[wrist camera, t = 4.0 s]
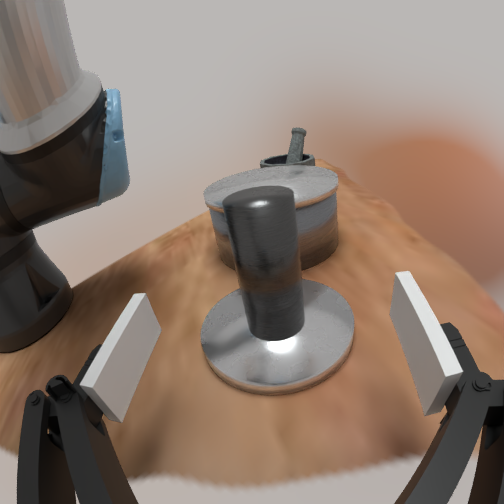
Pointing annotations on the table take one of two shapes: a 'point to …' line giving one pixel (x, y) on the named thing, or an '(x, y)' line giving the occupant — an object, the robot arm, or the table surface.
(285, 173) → the cooker pot
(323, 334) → the steel lid
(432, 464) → the robot arm
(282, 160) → the mortar and pestle
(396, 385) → the table surface
